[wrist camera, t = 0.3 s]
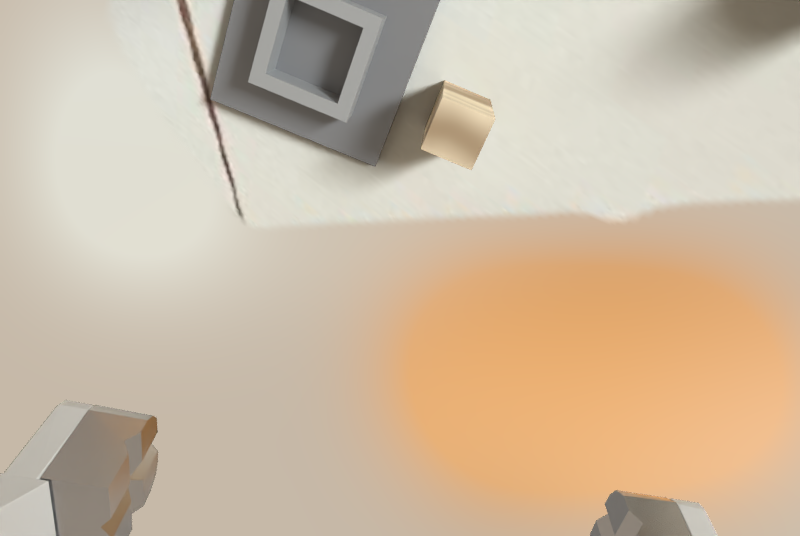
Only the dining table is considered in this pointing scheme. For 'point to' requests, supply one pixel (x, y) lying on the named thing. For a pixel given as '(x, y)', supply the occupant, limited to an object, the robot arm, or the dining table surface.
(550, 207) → the dining table surface
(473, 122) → the wooden block
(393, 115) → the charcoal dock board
